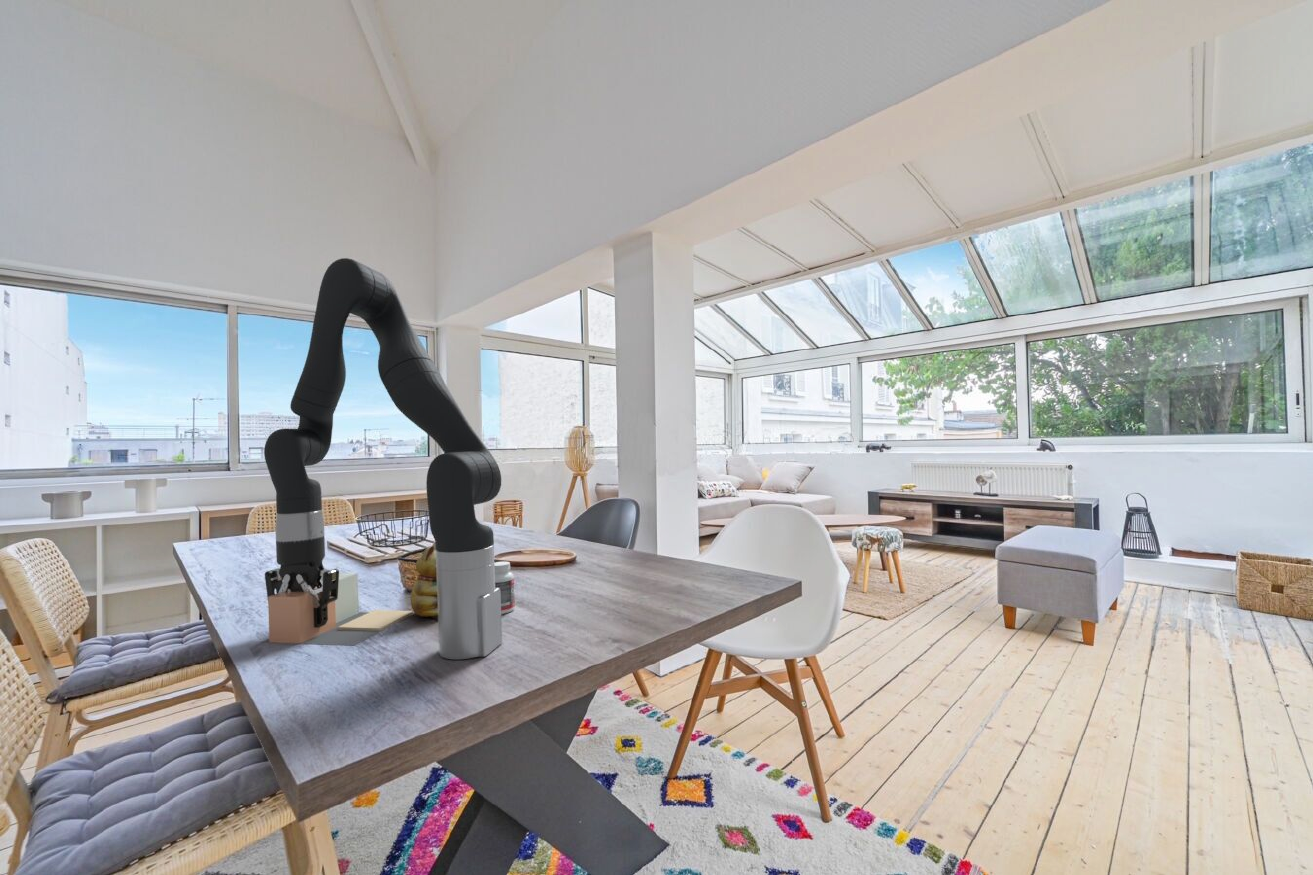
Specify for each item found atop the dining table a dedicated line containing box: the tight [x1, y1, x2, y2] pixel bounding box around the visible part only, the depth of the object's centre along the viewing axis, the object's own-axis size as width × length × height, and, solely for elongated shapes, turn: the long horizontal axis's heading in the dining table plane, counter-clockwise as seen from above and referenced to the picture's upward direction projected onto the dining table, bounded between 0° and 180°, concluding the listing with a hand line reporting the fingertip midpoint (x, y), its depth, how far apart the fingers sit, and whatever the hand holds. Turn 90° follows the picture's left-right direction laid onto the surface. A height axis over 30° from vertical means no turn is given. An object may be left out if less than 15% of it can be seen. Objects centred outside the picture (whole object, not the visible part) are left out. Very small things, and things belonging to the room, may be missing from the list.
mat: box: [260, 609, 416, 647], centre depth 102 cm, size 19×17×1 cm
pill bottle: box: [494, 561, 516, 615], centre depth 110 cm, size 5×5×10 cm
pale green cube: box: [321, 572, 360, 623], centre depth 108 cm, size 6×6×8 cm
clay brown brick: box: [267, 587, 336, 644], centre depth 99 cm, size 6×8×8 cm
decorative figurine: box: [410, 543, 438, 620], centre depth 109 cm, size 10×8×15 cm
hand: (303, 625), depth 99 cm, fingers closed on clay brown brick, 6 cm apart
